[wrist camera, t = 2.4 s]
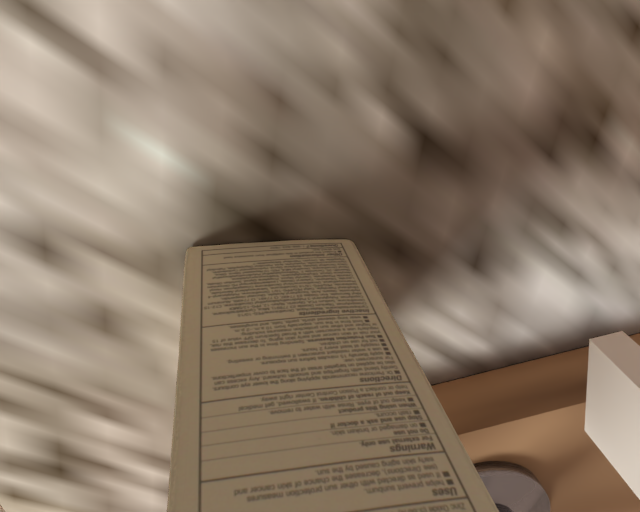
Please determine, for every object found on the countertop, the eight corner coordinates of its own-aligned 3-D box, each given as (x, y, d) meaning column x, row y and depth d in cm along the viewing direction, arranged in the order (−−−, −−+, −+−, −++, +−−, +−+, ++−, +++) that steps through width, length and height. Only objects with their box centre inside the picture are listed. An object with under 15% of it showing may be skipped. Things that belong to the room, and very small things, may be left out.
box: (193, 361, 18) (160, 838, 8) (184, 240, 16) (123, 678, 6) (354, 351, 19) (500, 771, 9) (364, 234, 17) (566, 609, 7)
